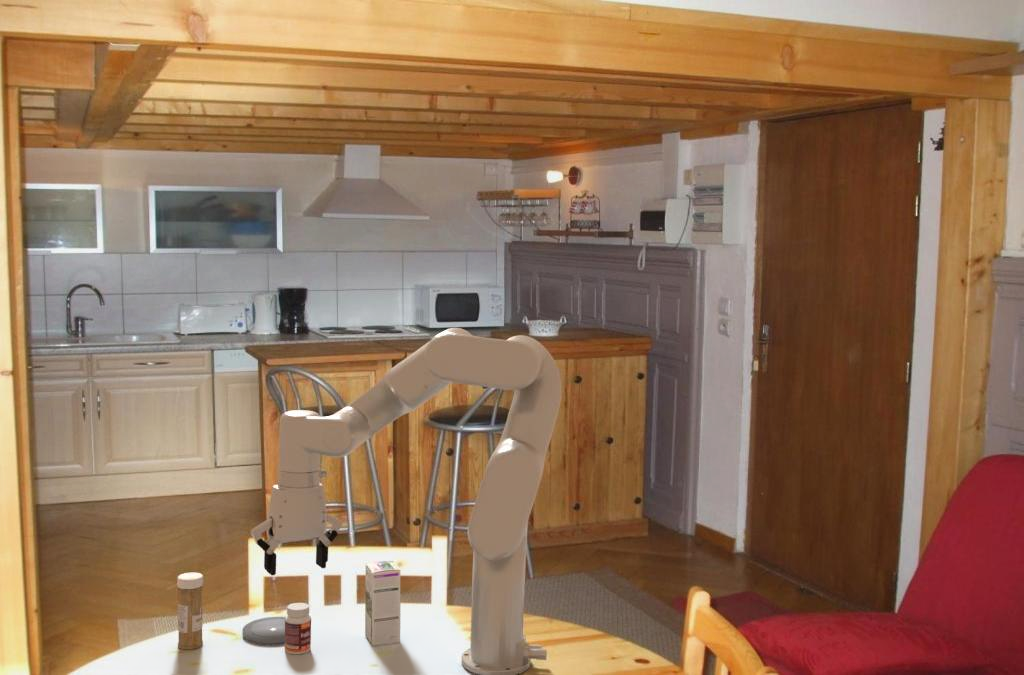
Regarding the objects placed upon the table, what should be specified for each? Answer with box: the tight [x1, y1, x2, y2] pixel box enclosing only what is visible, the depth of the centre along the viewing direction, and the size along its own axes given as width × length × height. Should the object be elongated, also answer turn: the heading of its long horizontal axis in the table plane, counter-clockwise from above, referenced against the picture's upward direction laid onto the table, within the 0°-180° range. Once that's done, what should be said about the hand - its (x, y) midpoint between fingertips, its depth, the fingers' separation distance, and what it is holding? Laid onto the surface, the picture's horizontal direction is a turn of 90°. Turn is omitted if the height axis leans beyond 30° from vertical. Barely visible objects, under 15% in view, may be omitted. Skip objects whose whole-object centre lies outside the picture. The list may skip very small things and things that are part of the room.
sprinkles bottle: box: [176, 571, 204, 651], centre depth 191 cm, size 5×5×14 cm
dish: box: [242, 616, 286, 646], centre depth 199 cm, size 12×12×1 cm
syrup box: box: [364, 560, 401, 647], centre depth 197 cm, size 6×6×14 cm
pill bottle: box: [284, 602, 312, 655], centre depth 191 cm, size 5×5×8 cm
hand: (296, 569), depth 190 cm, fingers open, 9 cm apart
